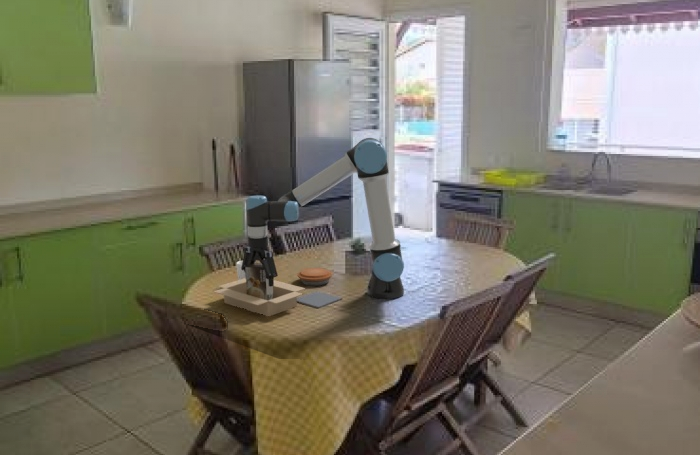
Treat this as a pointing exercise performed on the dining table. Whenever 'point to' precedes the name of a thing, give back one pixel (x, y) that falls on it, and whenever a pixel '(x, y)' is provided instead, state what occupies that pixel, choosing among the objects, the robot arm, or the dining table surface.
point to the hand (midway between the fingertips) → (259, 291)
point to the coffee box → (257, 281)
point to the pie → (314, 276)
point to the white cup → (240, 270)
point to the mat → (318, 299)
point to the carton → (281, 300)
